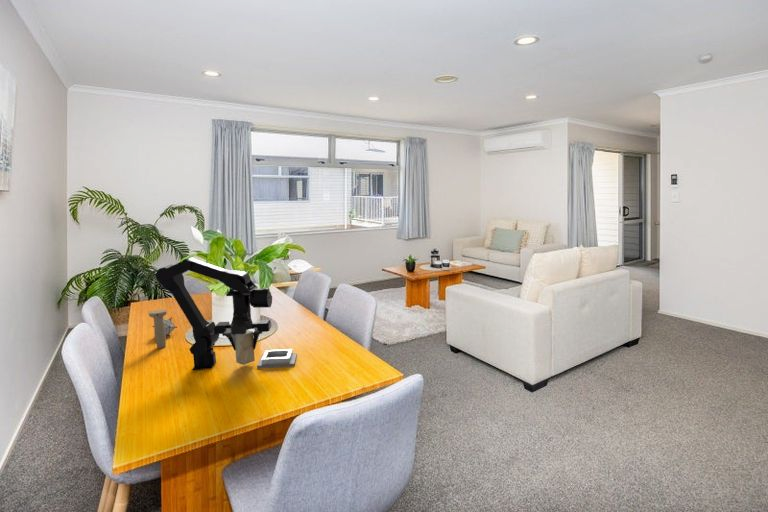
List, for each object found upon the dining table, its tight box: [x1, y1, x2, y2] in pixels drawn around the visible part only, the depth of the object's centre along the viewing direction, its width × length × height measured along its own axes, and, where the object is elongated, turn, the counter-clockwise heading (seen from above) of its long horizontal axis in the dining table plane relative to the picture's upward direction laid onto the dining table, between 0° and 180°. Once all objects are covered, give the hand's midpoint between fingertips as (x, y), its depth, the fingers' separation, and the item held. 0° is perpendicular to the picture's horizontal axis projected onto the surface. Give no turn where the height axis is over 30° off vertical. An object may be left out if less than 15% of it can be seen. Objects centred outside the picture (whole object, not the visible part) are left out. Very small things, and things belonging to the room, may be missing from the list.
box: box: [235, 329, 255, 366], centre depth 152 cm, size 5×4×11 cm
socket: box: [256, 348, 298, 369], centre depth 156 cm, size 13×10×3 cm
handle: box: [148, 309, 168, 349], centre depth 172 cm, size 5×6×15 cm
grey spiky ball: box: [151, 317, 178, 337], centre depth 187 cm, size 9×8×10 cm
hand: (244, 349), depth 152 cm, fingers closed on box, 6 cm apart
